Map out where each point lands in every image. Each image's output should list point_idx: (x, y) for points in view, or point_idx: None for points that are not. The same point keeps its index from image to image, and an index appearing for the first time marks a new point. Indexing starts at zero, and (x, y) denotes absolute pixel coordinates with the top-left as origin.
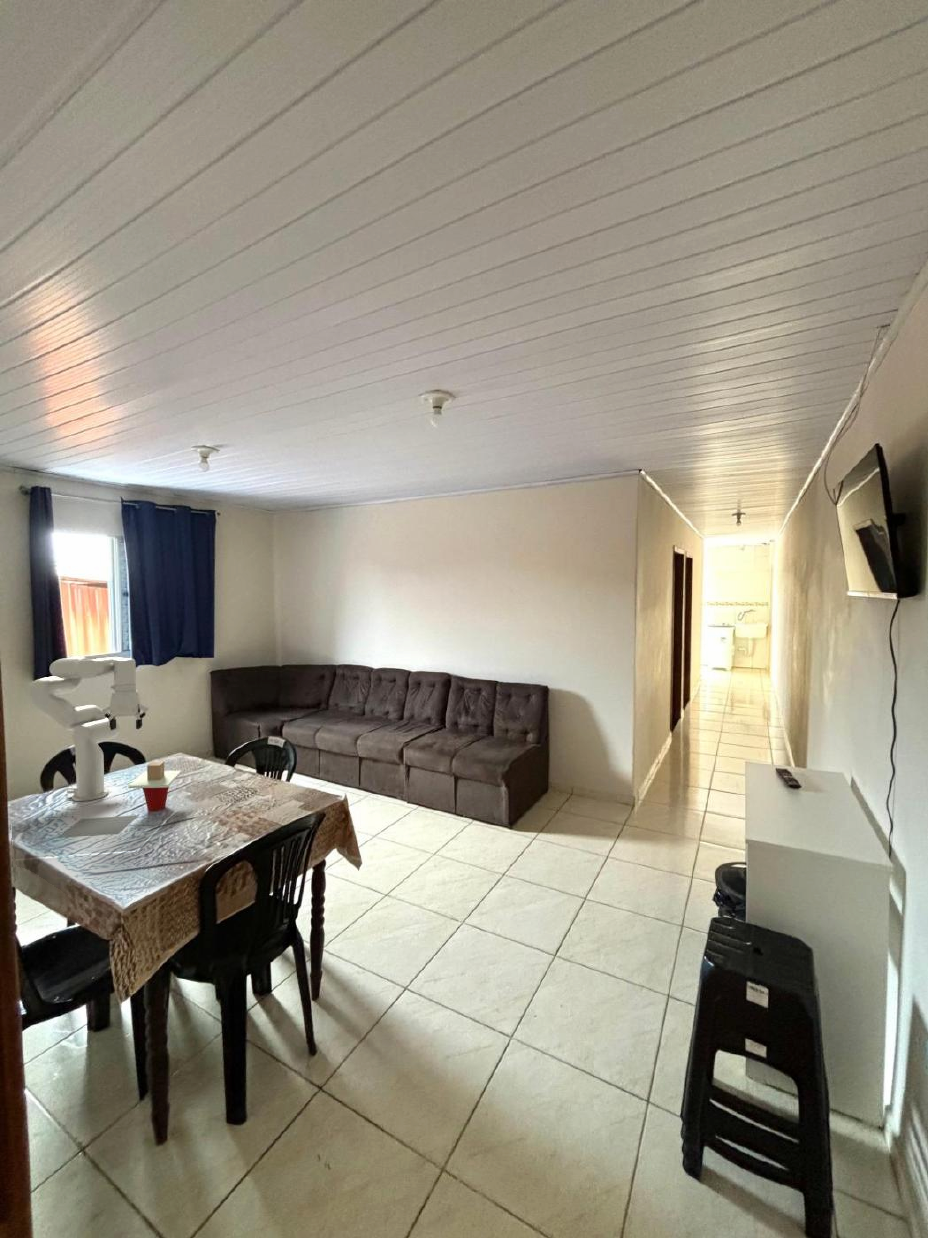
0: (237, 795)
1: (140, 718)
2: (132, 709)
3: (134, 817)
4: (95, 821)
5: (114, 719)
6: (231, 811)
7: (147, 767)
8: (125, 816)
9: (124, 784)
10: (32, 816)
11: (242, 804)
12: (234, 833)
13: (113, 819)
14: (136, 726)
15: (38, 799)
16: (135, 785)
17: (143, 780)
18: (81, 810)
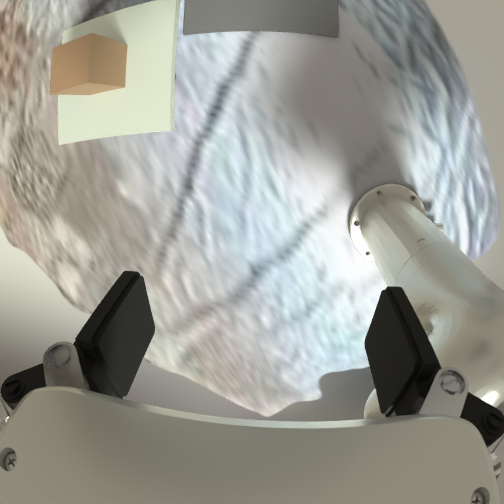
0: (30, 167)
1: (48, 350)
2: (14, 479)
3: (189, 21)
4: (288, 9)
5: (397, 409)
6: (17, 82)
7: (95, 34)
8: (217, 28)
9: (329, 292)
10: (464, 114)
11: (11, 118)
12: (8, 5)
13: (242, 13)
14: (124, 288)
15: (479, 231)
16: (153, 1)
17: (139, 41)
18: (373, 113)
